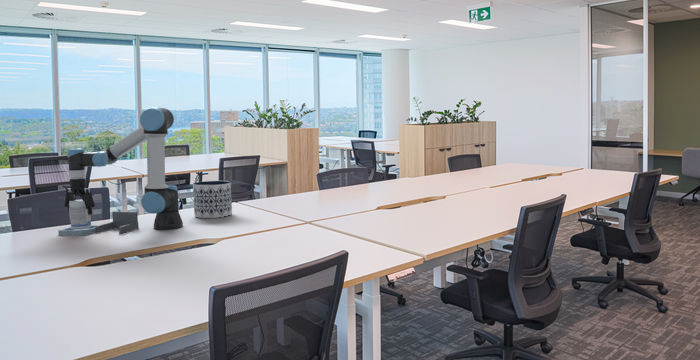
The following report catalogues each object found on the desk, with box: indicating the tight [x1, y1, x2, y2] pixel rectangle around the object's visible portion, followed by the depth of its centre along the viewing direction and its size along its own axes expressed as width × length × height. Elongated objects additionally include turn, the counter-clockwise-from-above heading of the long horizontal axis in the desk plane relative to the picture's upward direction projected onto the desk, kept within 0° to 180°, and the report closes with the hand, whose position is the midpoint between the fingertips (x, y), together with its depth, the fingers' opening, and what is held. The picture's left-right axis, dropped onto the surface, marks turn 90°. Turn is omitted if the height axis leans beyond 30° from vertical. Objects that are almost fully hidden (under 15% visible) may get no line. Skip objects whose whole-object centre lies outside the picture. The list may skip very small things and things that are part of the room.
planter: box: [192, 180, 233, 219], centre depth 325 cm, size 22×22×20 cm
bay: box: [95, 210, 139, 235], centre depth 284 cm, size 14×15×9 cm
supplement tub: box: [69, 199, 92, 229], centre depth 280 cm, size 10×10×15 cm
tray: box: [57, 224, 99, 237], centre depth 281 cm, size 15×15×2 cm
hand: (80, 220), depth 280 cm, fingers closed on supplement tub, 10 cm apart
